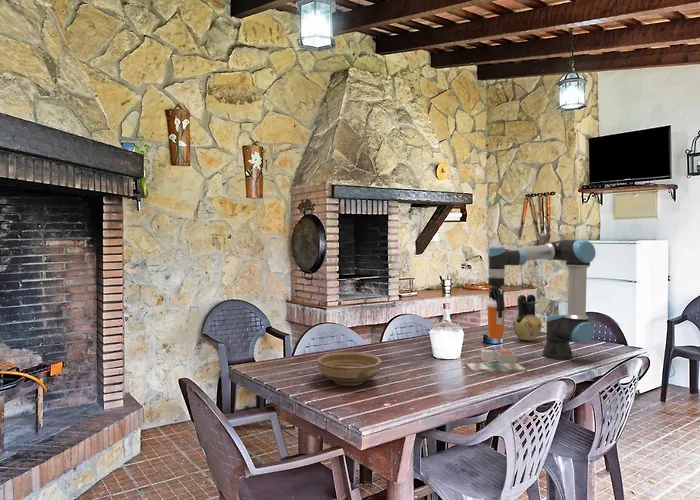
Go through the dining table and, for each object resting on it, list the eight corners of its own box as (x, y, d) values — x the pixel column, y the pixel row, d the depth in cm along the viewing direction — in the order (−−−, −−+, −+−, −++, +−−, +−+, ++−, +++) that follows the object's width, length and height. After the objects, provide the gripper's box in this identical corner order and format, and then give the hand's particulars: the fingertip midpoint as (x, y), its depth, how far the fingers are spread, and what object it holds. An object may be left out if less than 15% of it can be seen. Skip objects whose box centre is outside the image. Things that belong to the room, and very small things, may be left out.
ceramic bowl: (401, 385, 218) (401, 363, 218) (350, 398, 200) (350, 373, 200) (348, 368, 247) (348, 348, 247) (299, 377, 229) (300, 356, 229)
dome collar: (510, 358, 270) (510, 350, 270) (516, 362, 261) (517, 354, 261) (493, 358, 270) (493, 350, 270) (499, 363, 261) (499, 354, 260)
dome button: (508, 358, 269) (508, 346, 269) (513, 361, 262) (513, 349, 262) (497, 358, 268) (497, 346, 268) (501, 361, 262) (501, 349, 262)
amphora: (521, 338, 327) (522, 292, 327) (546, 342, 315) (547, 295, 314) (507, 341, 315) (508, 294, 315) (532, 346, 303) (533, 296, 302)
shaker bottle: (505, 339, 243) (506, 298, 243) (486, 338, 245) (487, 298, 245) (503, 336, 252) (504, 296, 252) (485, 335, 254) (486, 296, 253)
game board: (517, 365, 256) (517, 363, 256) (526, 371, 244) (526, 369, 244) (465, 365, 254) (465, 363, 254) (472, 372, 242) (472, 369, 242)
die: (490, 358, 270) (490, 349, 269) (493, 361, 265) (493, 351, 264) (481, 358, 269) (481, 349, 269) (484, 361, 264) (484, 351, 264)
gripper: (482, 275, 259) (481, 319, 259) (496, 279, 237) (496, 326, 237) (496, 275, 259) (495, 319, 259) (512, 279, 237) (511, 326, 238)
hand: (495, 322), depth 248 cm, fingers closed on shaker bottle, 9 cm apart
